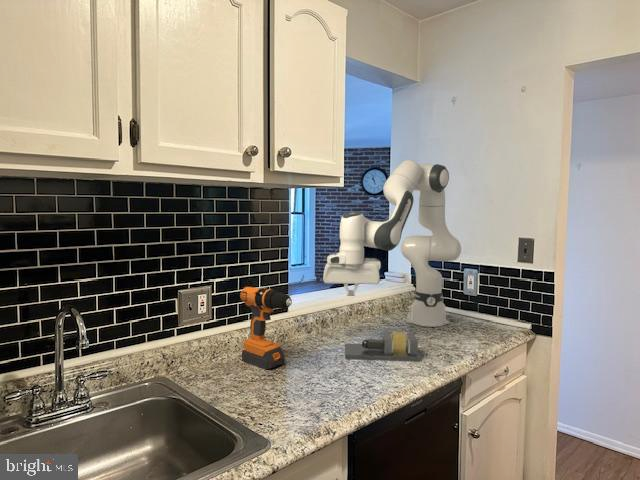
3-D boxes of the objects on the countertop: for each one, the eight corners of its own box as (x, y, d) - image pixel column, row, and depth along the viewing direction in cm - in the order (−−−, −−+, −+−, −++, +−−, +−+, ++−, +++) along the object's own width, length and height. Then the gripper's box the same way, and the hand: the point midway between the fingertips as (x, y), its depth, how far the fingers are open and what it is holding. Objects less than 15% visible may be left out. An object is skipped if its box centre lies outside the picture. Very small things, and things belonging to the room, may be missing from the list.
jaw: (361, 345, 160) (361, 331, 159) (390, 346, 159) (390, 332, 159) (362, 353, 151) (362, 339, 150) (393, 354, 150) (393, 340, 150)
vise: (344, 347, 162) (345, 330, 161) (413, 349, 160) (414, 332, 160) (344, 358, 150) (345, 340, 149) (419, 361, 148) (420, 342, 148)
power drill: (300, 370, 139) (301, 291, 137) (283, 376, 133) (284, 295, 131) (253, 354, 153) (254, 282, 151) (237, 359, 147) (237, 285, 145)
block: (391, 348, 157) (391, 331, 157) (403, 348, 157) (404, 332, 156) (392, 352, 153) (393, 335, 152) (405, 353, 152) (406, 336, 152)
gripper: (380, 256, 160) (379, 294, 162) (324, 255, 162) (323, 292, 163) (381, 259, 154) (380, 298, 156) (323, 258, 155) (322, 297, 157)
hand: (351, 295), depth 159 cm, fingers closed
